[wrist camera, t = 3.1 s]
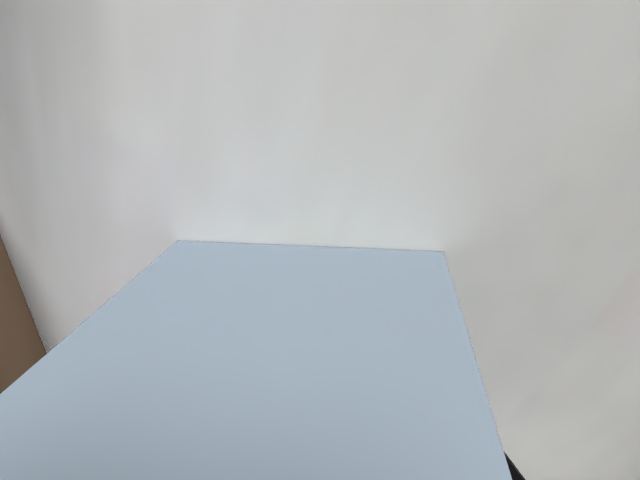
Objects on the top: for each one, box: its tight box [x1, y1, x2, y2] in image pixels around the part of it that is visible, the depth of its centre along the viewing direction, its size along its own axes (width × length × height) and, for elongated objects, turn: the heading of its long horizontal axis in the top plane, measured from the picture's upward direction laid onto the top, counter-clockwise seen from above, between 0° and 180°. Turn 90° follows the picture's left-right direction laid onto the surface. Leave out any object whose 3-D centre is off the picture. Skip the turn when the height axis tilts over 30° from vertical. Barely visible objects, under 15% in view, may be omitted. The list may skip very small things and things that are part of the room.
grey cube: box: [0, 241, 512, 480], centre depth 7 cm, size 6×6×6 cm
